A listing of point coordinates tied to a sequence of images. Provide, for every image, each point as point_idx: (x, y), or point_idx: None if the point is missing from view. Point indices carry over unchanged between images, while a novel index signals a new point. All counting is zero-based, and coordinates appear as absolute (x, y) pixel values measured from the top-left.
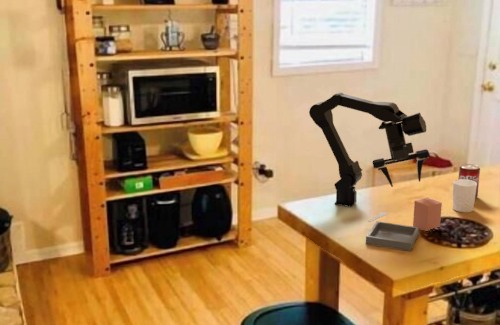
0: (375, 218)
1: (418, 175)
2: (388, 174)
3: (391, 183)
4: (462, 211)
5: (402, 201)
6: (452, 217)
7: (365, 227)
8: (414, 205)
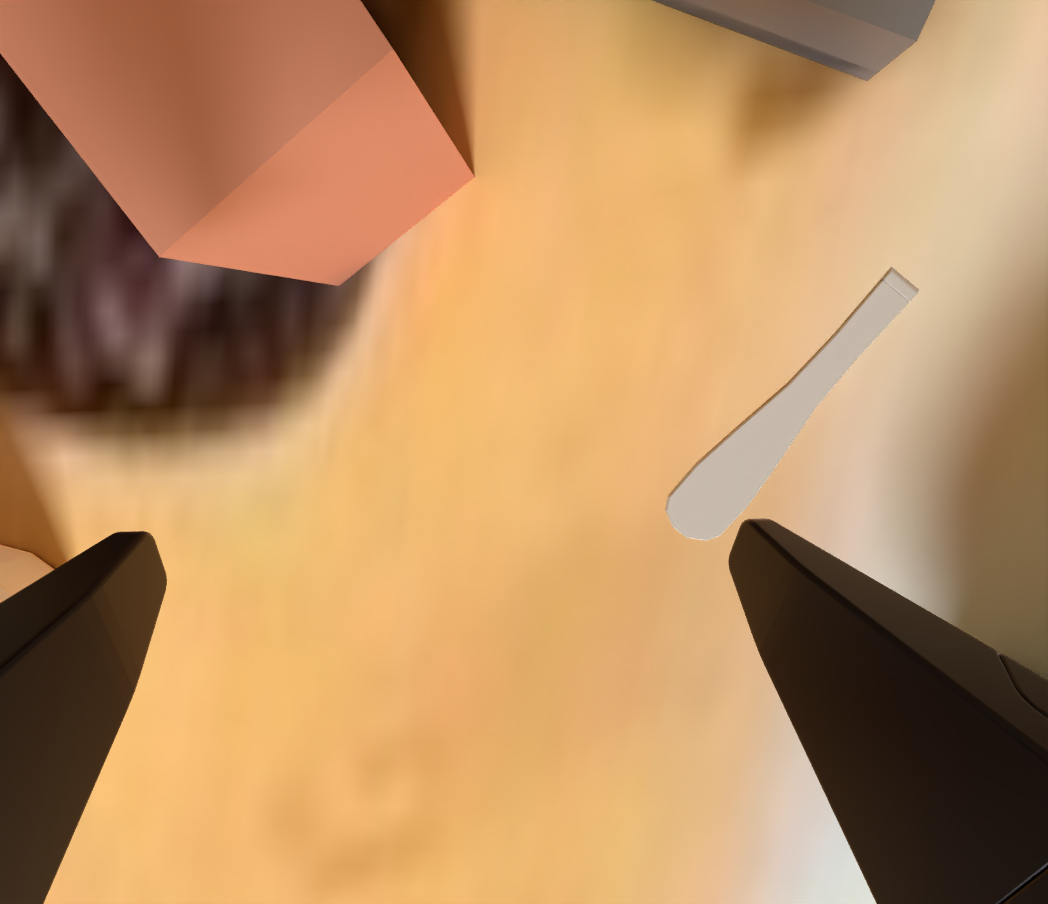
0: (815, 364)
1: (41, 623)
2: (1040, 738)
3: (798, 551)
4: (11, 550)
5: (482, 785)
6: (102, 429)
7: (983, 99)
8: (414, 86)
